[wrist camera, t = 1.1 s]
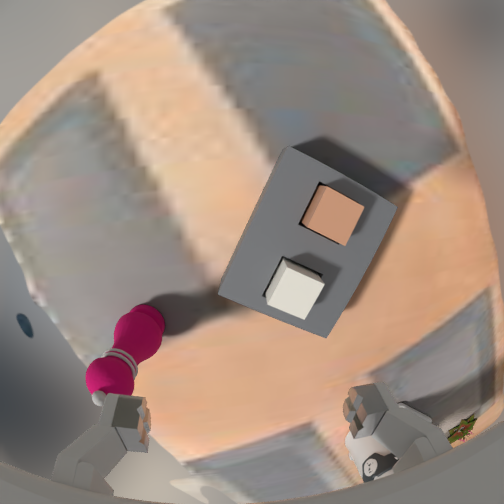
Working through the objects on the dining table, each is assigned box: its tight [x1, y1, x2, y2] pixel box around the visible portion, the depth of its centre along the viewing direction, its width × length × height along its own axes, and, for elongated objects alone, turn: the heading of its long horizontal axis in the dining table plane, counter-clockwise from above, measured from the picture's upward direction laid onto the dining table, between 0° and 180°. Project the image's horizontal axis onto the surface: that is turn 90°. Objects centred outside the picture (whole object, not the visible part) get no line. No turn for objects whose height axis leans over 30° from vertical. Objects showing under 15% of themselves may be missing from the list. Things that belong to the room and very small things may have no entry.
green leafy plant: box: [448, 413, 477, 444], centre depth 54 cm, size 12×12×5 cm
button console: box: [218, 146, 398, 338], centre depth 39 cm, size 16×20×6 cm
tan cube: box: [300, 185, 364, 246], centre depth 35 cm, size 5×5×5 cm
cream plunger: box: [265, 256, 325, 320], centre depth 37 cm, size 5×5×5 cm
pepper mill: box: [86, 305, 165, 406], centre depth 35 cm, size 7×7×20 cm
